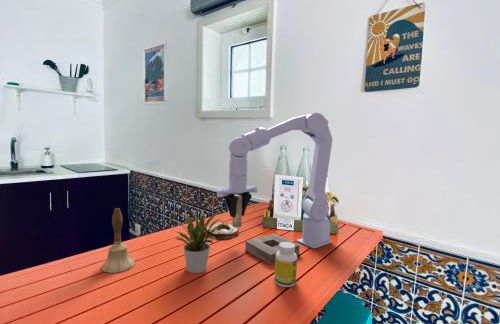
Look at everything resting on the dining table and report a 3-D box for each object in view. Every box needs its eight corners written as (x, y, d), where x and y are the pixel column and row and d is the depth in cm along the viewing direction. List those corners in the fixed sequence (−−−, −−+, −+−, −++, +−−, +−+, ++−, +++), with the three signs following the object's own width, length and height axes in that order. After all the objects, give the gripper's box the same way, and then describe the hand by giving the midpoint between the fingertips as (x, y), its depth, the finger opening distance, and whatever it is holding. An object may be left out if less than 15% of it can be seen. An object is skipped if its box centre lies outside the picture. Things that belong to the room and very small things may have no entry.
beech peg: (237, 223, 94) (238, 194, 93) (243, 226, 92) (244, 196, 91) (230, 225, 92) (231, 195, 91) (235, 228, 90) (236, 197, 89)
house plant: (235, 262, 80) (236, 206, 78) (213, 286, 67) (215, 221, 65) (192, 253, 85) (192, 201, 83) (163, 275, 72) (163, 213, 70)
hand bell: (95, 266, 75) (93, 209, 74) (125, 256, 82) (124, 203, 80) (110, 276, 70) (109, 215, 69) (140, 265, 77) (140, 208, 75)
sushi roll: (193, 233, 103) (193, 222, 102) (223, 224, 114) (223, 214, 113) (220, 245, 93) (221, 233, 92) (250, 234, 104) (250, 223, 104)
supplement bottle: (295, 289, 67) (297, 250, 66) (273, 286, 68) (274, 247, 67) (296, 278, 72) (298, 241, 71) (275, 275, 73) (277, 239, 72)
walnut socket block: (273, 241, 96) (273, 233, 96) (299, 254, 86) (299, 245, 86) (245, 250, 89) (245, 240, 88) (270, 264, 79) (270, 254, 79)
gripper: (248, 171, 98) (247, 209, 99) (212, 174, 89) (211, 216, 90) (261, 174, 92) (260, 214, 93) (224, 177, 83) (223, 222, 85)
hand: (237, 215), depth 92 cm, fingers closed on beech peg, 3 cm apart
